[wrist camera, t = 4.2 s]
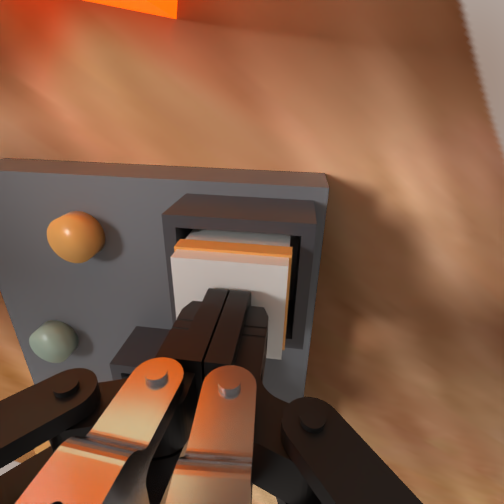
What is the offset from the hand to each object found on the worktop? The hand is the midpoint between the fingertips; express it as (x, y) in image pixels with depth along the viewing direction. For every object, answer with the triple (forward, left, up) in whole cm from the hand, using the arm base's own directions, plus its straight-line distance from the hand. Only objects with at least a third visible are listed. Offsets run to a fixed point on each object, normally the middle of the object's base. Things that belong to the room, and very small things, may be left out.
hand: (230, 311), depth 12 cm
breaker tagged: (0, 0, -4) cm, 4 cm away
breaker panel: (-6, -7, -8) cm, 12 cm away
